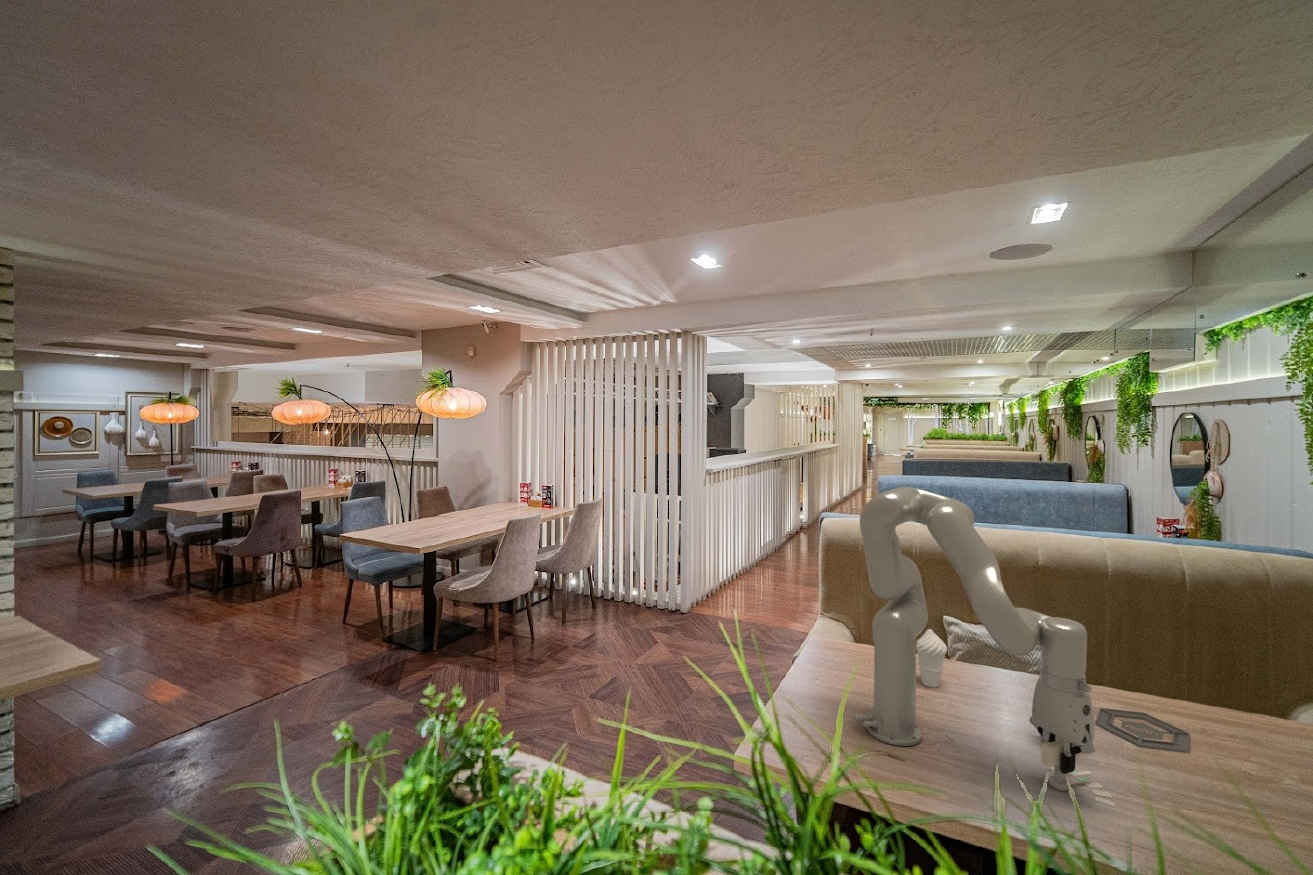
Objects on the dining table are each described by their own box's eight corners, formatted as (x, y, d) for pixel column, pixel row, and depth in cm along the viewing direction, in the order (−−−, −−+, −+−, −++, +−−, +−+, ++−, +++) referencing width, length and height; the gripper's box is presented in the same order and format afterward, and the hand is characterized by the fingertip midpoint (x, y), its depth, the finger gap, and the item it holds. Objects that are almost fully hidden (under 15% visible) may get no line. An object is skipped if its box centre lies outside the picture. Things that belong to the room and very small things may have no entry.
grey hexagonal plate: (1092, 733, 138) (1093, 730, 138) (1101, 704, 153) (1102, 700, 153) (1189, 763, 127) (1189, 760, 127) (1189, 728, 141) (1189, 725, 141)
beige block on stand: (1050, 792, 114) (1052, 750, 114) (1037, 782, 117) (1038, 741, 117) (1096, 787, 116) (1098, 745, 116) (1082, 777, 119) (1084, 736, 119)
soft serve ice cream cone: (951, 691, 159) (953, 635, 158) (922, 691, 159) (923, 635, 158) (937, 677, 167) (938, 624, 167) (909, 677, 167) (910, 624, 167)
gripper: (1117, 695, 109) (1114, 787, 110) (1036, 661, 124) (1034, 742, 125) (1092, 702, 107) (1088, 796, 107) (1012, 666, 122) (1010, 749, 122)
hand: (1059, 766), depth 116 cm, fingers closed, pressing on beige block on stand
